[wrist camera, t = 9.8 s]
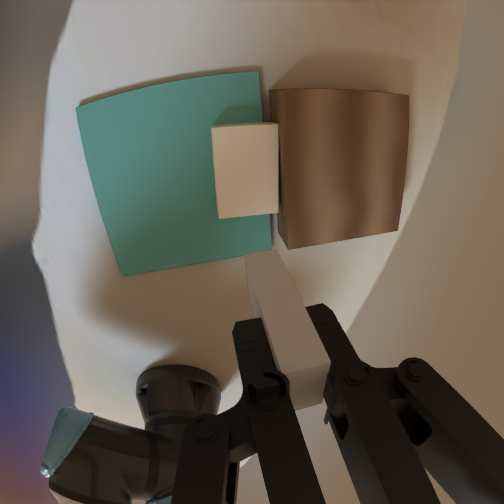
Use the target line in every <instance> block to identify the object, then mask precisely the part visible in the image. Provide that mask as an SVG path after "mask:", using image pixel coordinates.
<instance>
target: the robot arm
mask: <svg viewBox="0 0 504 504" xmlns="http://www.w3.org/2000/svg"><path fill="white" fill-rule="evenodd" d="M244 256H245V264H246V272H247V280H248V289H249V297H250V302H251V306H252V309H253V313H254V316H255V318H254V319H249V320H244V321H239V322H236V323H235V326H234V329H233V332H232V334H233V340H234V345H235V350H236V355H237V360H238V365H239V370H240V375H241V380H242V385H243V393H242V397H241V398H240V400H239V402H238V403H237V404H236V405H235V406H234V407H232V408H230V409H229V410H227V411H225V412H223V413H220V414H218V415H217V413H218V409H219V405H220V400H221V392H220V385H219V383H218V381H217V380H216V378H215V377H213V376H212V375H211V374H209V373H207V372H205V371H203V370H200V369H197V368H193V367H188V366H176V365H172V366H162V367H157V368H153V369H150V370H148V371H146V372H144V373H143V374H142V375H141V376H140V377H139V378H138V380H137V384H136V397H137V401H138V404H139V407H140V410H141V413H142V416H143V419H144V423H145V430H143V429H139V428H136V427H132V426H128V425H125V424H121V423H118V422H114V421H111V420H108V419H105V418H101V417H98V416H95V415H94V413H91V412H90V413H87V412H84V411H81V410H78V409H74V408H71V407H64V408H62V409H60V410H59V412H58V413H57V416H56V419H55V422H54V425H53V427H52V431H51V434H50V437H49V440H48V443H47V446H46V450H45V453H44V456H43V460H42V463H41V467H40V472H41V474H43V475H44V476H45V477H47V478H48V477H49V490H50V491H51V493H52V494H53V495H54V496H55V498H56V499H57V501H58V504H132V499H136V500H143V501H146V503H145V504H236V500H237V499H236V498H237V487H238V476H239V465H240V461H242V460H244V459H246V458H248V457H250V456H252V455H253V454H255V453H258V457H259V461H260V466H261V469H262V474H263V478H264V482H265V486H266V490H267V494H268V498H269V502H270V504H326V503H325V500H324V497H323V494H322V491H321V488H320V485H319V483H318V480H317V476H316V473H315V471H314V467H313V464H312V462H311V459H310V455H309V452H308V449H307V447H306V443H305V441H304V437H303V435H302V431H301V429H300V425H299V422H298V419H297V416H296V414H295V410H299V409H303V408H306V407H310V406H314V405H317V404H320V403H322V401H323V397H324V399H325V402H326V404H327V407H328V408H327V411H326V414H325V418H324V422H325V424H327V423H328V421H329V422H330V425H331V428H332V430H333V433H334V435H335V438H336V440H337V443H338V446H339V448H340V451H341V454H342V456H343V459H344V461H345V464H346V467H347V469H348V472H349V474H350V477H351V480H352V482H353V485H354V488H355V490H356V493H357V495H358V498H359V501H360V503H361V504H440V501H439V499H438V497H437V495H436V492H435V490H434V488H433V486H432V484H431V481H430V479H429V477H428V475H427V473H426V471H425V469H426V470H427V471H428V472H429V473H430V474H431V475H432V477H433V478H434V479H435V480H436V481H437V482H438V483H439V484H440V486H441V487H442V488H443V489H444V490H445V491H446V492H447V493H448V495H449V496H450V497H451V498H452V499H453V500H454V502H455V503H456V504H504V439H503V438H502V437H501V436H500V435H499V434H498V433H497V432H496V431H495V430H494V429H493V428H492V427H491V426H490V425H489V424H488V423H487V421H486V420H484V418H483V417H482V416H481V415H480V414H479V413H478V412H477V411H476V410H475V409H474V408H473V407H472V406H471V405H470V404H469V403H468V402H467V401H466V400H465V399H464V398H463V397H462V396H461V395H460V394H459V393H458V392H457V391H456V390H455V389H454V388H453V387H452V386H451V385H450V384H449V383H448V382H447V381H446V380H445V379H443V378H442V377H441V376H440V375H439V374H438V373H437V372H436V371H435V370H434V369H433V368H432V367H431V366H430V365H429V364H428V363H427V362H425V361H424V360H422V359H419V358H407V359H405V360H403V361H402V362H401V363H400V365H399V366H398V367H395V368H374V367H371V366H370V365H368V364H366V363H365V362H362V361H361V360H360V358H359V357H358V355H357V354H356V352H355V350H354V348H353V346H352V345H351V343H350V341H349V339H348V338H347V336H346V334H345V332H344V330H342V327H341V325H340V323H339V322H338V320H337V318H336V316H335V314H334V313H333V311H332V310H331V309H330V308H328V307H327V306H326V305H324V304H323V303H321V304H317V305H312V306H308V307H305V306H304V304H303V302H302V300H301V298H300V296H299V294H298V292H297V290H296V288H295V286H294V284H293V282H292V280H291V278H290V276H289V274H288V272H287V270H286V268H285V266H284V264H283V262H282V259H281V257H280V255H279V253H278V251H277V249H275V250H270V251H264V252H258V253H252V254H247V255H244ZM423 466H424V467H425V469H424V467H423Z"/></svg>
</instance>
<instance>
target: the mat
mask: <svg viewBox="0 0 504 504" xmlns="http://www.w3.org/2000/svg"><path fill="white" fill-rule="evenodd" d="M76 113H77V119H78V124H79V129H80V134H81V139H82V144H83V148H84V153H85V157H86V161H87V165H88V169H89V173H90V177H91V181H92V185H93V188H94V192H95V195H96V199H97V202H98V205H99V209H100V212H101V215H102V218H103V221H104V225H105V228H106V231H107V234H108V237H109V239H110V242H111V245H112V248H113V251H114V254H115V256H116V259H117V262H118V264H119V267H120V270H121V272H122V275H123V276H127V275H133V274H139V273H145V272H151V271H157V270H163V269H169V268H175V267H180V266H186V265H192V264H198V263H204V262H210V261H216V260H221V259H227V258H233V257H239V256H244V255H247V254H252V253H258V252H264V251H270V250H272V243H271V227H270V214H261V215H251V216H241V217H232V218H223V219H219V217H218V211H217V201H216V189H215V176H214V164H213V150H212V136H211V126H213V125H225V124H239V123H258V122H263V116H262V104H261V93H260V81H259V71H252V72H239V73H228V74H219V75H211V76H204V77H197V78H190V79H184V80H179V81H173V82H168V83H163V84H158V85H154V86H149V87H145V88H141V89H136V90H132V91H129V92H125V93H121V94H117V95H114V96H111V97H107V98H104V99H101V100H97V101H94V102H91V103H88V104H85V105H82V106H79V107H77V108H76Z"/></svg>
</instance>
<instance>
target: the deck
mask: <svg viewBox="0 0 504 504" xmlns="http://www.w3.org/2000/svg"><path fill="white" fill-rule="evenodd" d="M269 95H270V107H271V120H272V122H274V123H276V124H278V213H277V216H278V233H279V234H280V236H281V238H282V240H283V242H284V243H285V245H286V247H287V249H288V250H290V249H296V248H302V247H307V246H313V245H319V244H325V243H330V242H336V241H342V240H347V239H353V238H359V237H364V236H370V235H376V234H381V233H387V232H393V231H398V226H399V219H400V213H401V206H402V199H403V191H404V182H405V173H406V162H407V149H408V131H409V96H408V95H401V94H394V93H387V92H377V91H365V90H349V89H275V90H269Z"/></svg>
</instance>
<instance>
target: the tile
mask: <svg viewBox="0 0 504 504" xmlns="http://www.w3.org/2000/svg"><path fill="white" fill-rule="evenodd" d="M211 136H212V150H213V164H214V176H215V189H216V201H217V211H218V217H219V219H223V218H232V217H241V216H251V215H261V214H271V213H278V124H276V123H274V122H258V123H239V124H225V125H213V126H211Z"/></svg>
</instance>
